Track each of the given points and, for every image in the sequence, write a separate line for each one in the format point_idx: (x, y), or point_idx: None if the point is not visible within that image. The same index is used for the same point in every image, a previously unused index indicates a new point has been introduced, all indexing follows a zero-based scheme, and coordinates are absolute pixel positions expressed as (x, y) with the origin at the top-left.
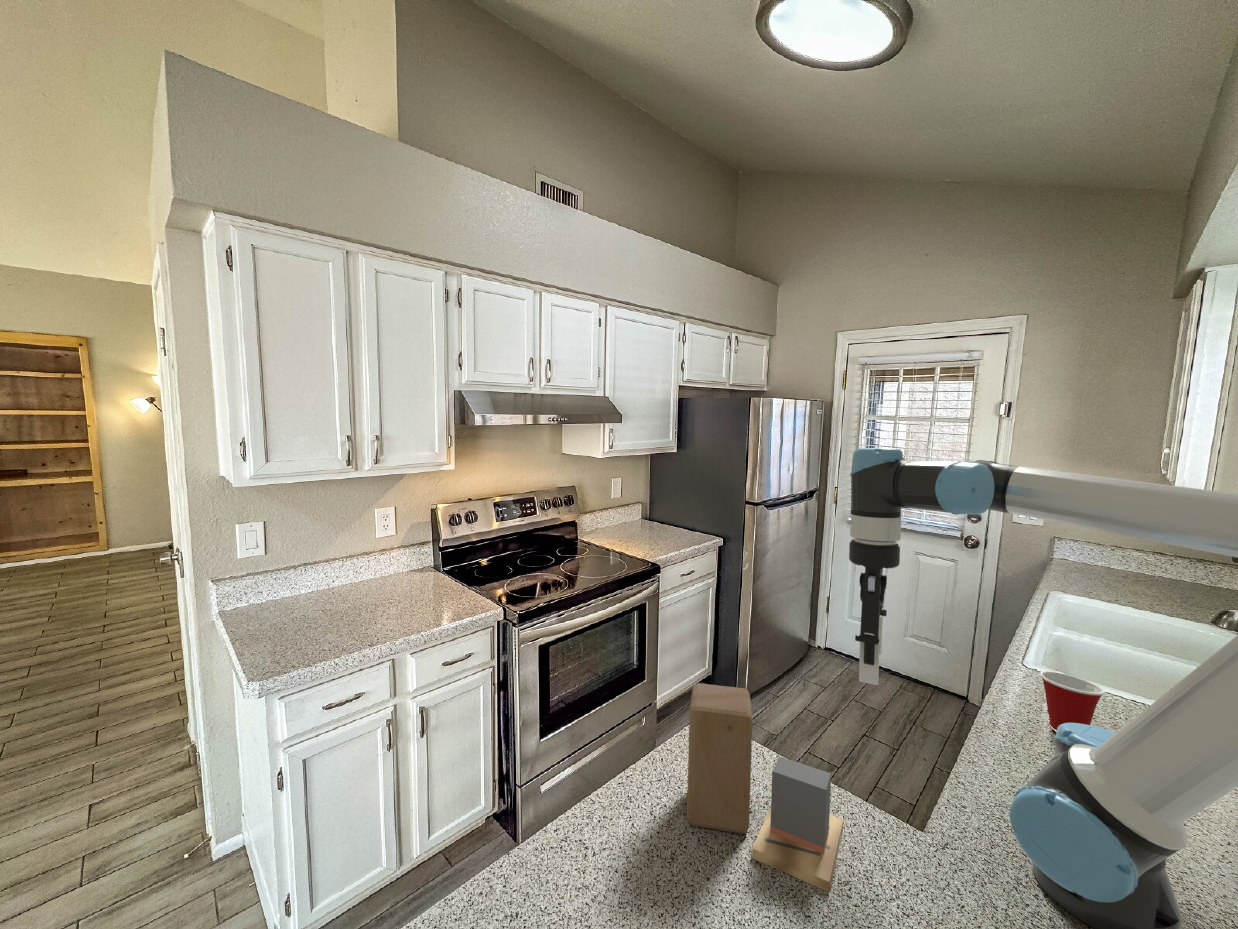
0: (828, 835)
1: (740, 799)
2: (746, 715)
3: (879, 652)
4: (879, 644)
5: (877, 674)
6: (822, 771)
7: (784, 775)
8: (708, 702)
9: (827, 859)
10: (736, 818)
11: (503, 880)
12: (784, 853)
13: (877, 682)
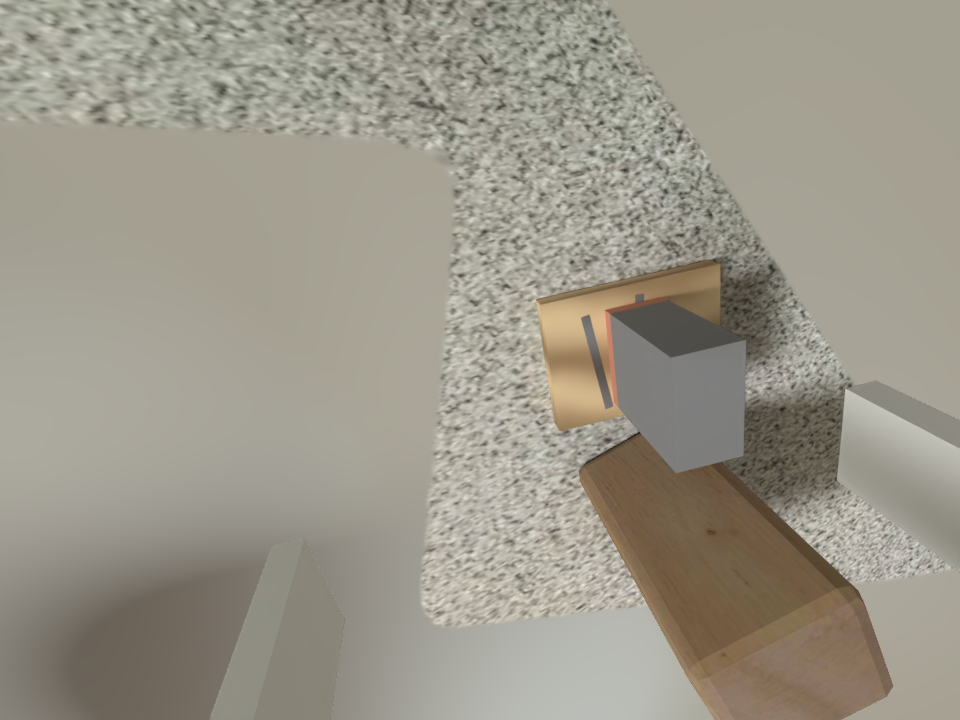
0: (606, 309)
1: None
2: (861, 607)
3: (305, 557)
4: (294, 615)
5: (948, 422)
6: (676, 376)
7: (743, 431)
8: (852, 692)
9: (671, 286)
10: None
11: (905, 565)
12: None
13: (894, 393)
